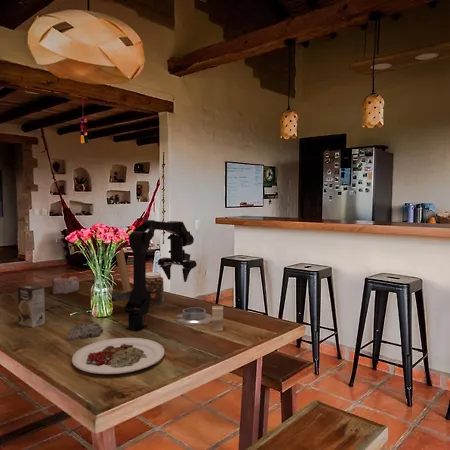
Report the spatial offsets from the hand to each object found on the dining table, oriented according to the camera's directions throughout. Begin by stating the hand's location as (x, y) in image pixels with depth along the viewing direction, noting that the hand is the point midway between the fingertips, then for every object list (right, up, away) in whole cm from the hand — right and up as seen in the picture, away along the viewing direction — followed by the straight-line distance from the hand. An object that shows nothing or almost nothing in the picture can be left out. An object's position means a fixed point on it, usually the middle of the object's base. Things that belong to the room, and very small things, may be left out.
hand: (177, 280), depth 191 cm
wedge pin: (+19, -17, -24) cm, 35 cm away
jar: (-15, -14, +15) cm, 25 cm away
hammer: (-30, -13, +25) cm, 41 cm away
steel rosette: (+9, -16, -12) cm, 21 cm away
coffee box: (-59, -16, -19) cm, 64 cm away
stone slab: (-34, -17, -29) cm, 48 cm away
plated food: (-13, -19, -54) cm, 59 cm away
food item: (-67, -12, +36) cm, 77 cm away
